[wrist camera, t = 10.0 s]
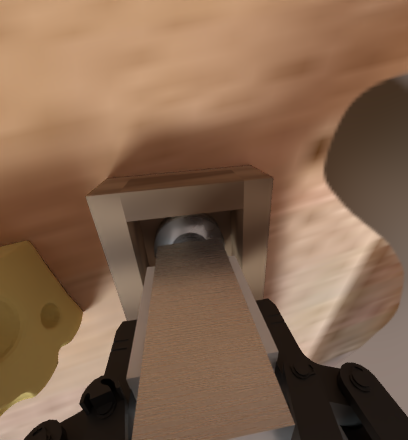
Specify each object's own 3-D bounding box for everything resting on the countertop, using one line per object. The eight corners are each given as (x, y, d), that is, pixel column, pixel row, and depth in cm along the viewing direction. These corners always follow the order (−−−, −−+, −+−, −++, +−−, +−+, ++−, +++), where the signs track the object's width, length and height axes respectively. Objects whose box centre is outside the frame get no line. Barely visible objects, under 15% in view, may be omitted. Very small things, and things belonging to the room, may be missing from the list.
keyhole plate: (106, 178, 17) (85, 196, 13) (250, 165, 18) (273, 177, 14) (153, 348, 26) (149, 389, 22) (244, 332, 27) (257, 369, 23)
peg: (149, 213, 17) (85, 454, 5) (219, 205, 18) (328, 404, 5) (161, 269, 20) (138, 520, 7) (221, 261, 20) (297, 482, 8)
